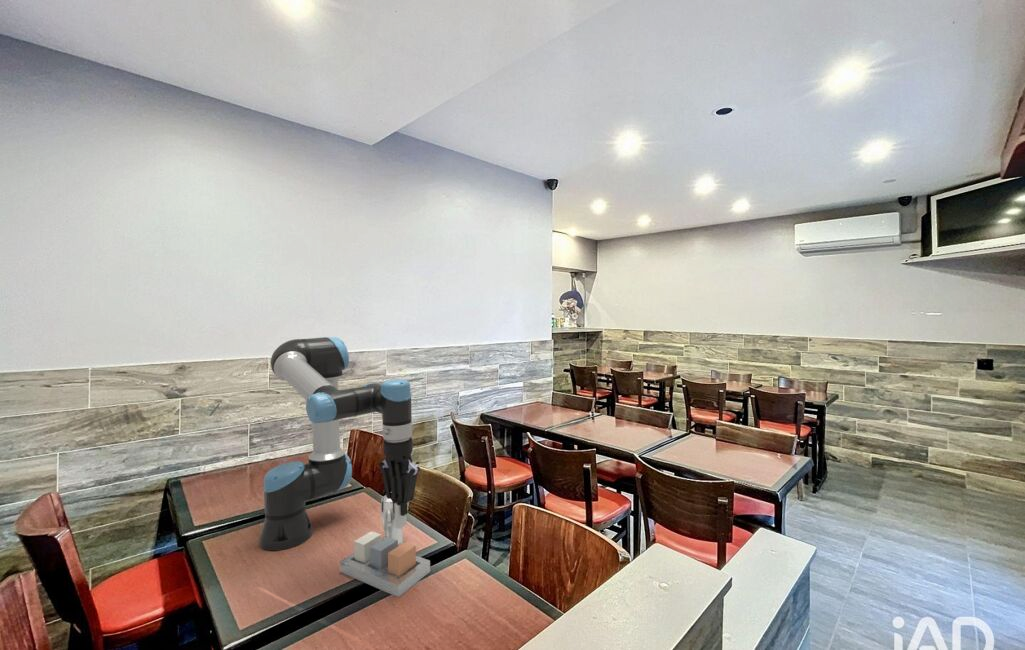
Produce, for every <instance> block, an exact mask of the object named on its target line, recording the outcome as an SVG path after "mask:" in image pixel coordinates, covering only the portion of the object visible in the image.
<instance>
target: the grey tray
mask: <svg viewBox="0 0 1025 650" xmlns="http://www.w3.org/2000/svg"><path fill="white" fill-rule="evenodd" d="M339 565H340V566H339V567H340V568H339V569H340V573H341V574H343V575H346V576H349V577H351V578H352V579H356V580H358V581H360V582H362V583H364V584H367V585H369V586H371V587H374V588H376V589H379V590H381V591H383V592H385V593H388V594H389V595H392V596H394V597H396V598H399V597H401V596H402V595H403V594H404V593H406V592H407V591H408V590H409V589H411V588H412V587H413V586H415V585H416V584H417V583H418V582H419V581H421V579H423V578H424V577H425V576H427V575H428V574H429V573H430V572H431V560H430V559H426V558H424V557H421V556H418V555H416V564H415V565H414V566H412V567H411V568H410V569H408V570H407V571H406V572H404V573H403V574H402V575H400V576H398V575H395V574H393V573H390V572H388V565H387V566H386V567H384V568H383V569H379V568H376V567H374V566H371V559H369V560H368V561H366V562H365V563H364V562H361V561H359V560H356V559H355V556H354V552H353V553H352V554H350V555H348V556H347V557H345V558H343V559H342V560H340V561H339Z"/></svg>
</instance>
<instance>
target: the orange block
mask: <svg viewBox="0 0 1025 650" xmlns="http://www.w3.org/2000/svg"><path fill="white" fill-rule="evenodd" d="M416 550H417V549H416V545H414V544H412V543H409V542H406V541H405V542H404V541H403V543H401V544H400V545H398V547H396V548H395V549H393V550H392V551H390V552H389V553H388V572H390V573H393V574H395V575H398V576H400V575H402V574H403V573H404V572H406V571H407V570H408V569H410V568H411V567H412V566H414V565H415V564H416V556H417V554H416V553H417V551H416Z"/></svg>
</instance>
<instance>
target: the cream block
mask: <svg viewBox="0 0 1025 650" xmlns="http://www.w3.org/2000/svg"><path fill="white" fill-rule="evenodd" d="M381 540H382V534H380V533H378V532H375V531H369V532H368V533H366V534H363V535H362V536H360V537H359V538H357V539H355V540H354V541H353V548H354V549H353V550H354V551H353V553H354V556H355V559H356V560H359V561H361V562H364V563H365V562H366V561H368V560H369V559H371V551H370V547H372V546H373V545H375V544H377V543H378V542H380V541H381Z"/></svg>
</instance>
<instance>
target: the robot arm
mask: <svg viewBox="0 0 1025 650" xmlns="http://www.w3.org/2000/svg"><path fill="white" fill-rule="evenodd" d="M349 356H350V355H349V351H348V348H347V346H346V344H345V342H344V341H343V340H342V339H341V338H339V337H336V336H334V337H333V336H332V337H329V336H327V337H324V336H323V337H315V338H311V337H310V338H295V339H291V340H287V341H285V342H284V343H282V344H281V345H279V346H278V347H277V348H276V349H275V350H274V351H273V353H272V355H271V357H270V361H269V362H270V368H271V370H272V372H273V373H274V375H275V376H276V377H277V378H278V379H280V380H282V381H286V382H287V383H288V384H289V386H291V387H292V389H294V390H295V391H296V392H297V393H298V394H299V396H301V397H302V398H303V399H304V400H305V403H306V404H305V411H306V415H307V417H308V420H309V421H310V422H311V425H312V427H311V428H312V429H311V430H312V452H311V453H310V454H309V455H308V463H306V464H304V463H303V462H302V461H298V460H297V461H295V460H294V461H290V462H289V461H288V462H284V463H282V464H279V465H277V466H275V467H273V468H271V469H269V470H268V472H266V474H265V475H264V477H263V487H262V488H263V497H264V498H263V501H264V517H265V518H264V522H263V526H262V527H261V528H262V529H261V533H260V536H259V546H260V548H261V549H263V550H266V551H283V550H286V549H289V548H290V549H291V548H293V547H296V546H298V545H301V544H302V543H304V542H305V541H307V540H308V539H309V538H310V537H312V534H313V524H312V522H311V519H310V517H309V515H308V513H307V510H306V502H307V501H310V500H313V499H316V498H319V497H323V496H325V495H329V494H332V493H333V494H334V493H337V492H338V491H340V490H343V489H345V488H346V487H348V485H349V484H350V482H351V480H352V476H353V475H352V474H353V464H352V460H351V458H350V457H349V455H348V454H346V453H345V452H346V451H345V450H343V449H342V448H341V445H340V444H341V441H340V440H341V439H340V438H341V437H340V436H341V435H340V420H343V419H347V418H353V417H357V416H363V415H367V414H372V413H373V414H374V413H379V414H381V417H382V439H383V442H382V444H383V445H382V447H383V448H382V449H383V455H384V456H385V457H384V460H382V461H380V462H378V466H379V469H380V471H381V475H382V481H383V485H384V490H385V495H386V496H387V498H388V499H391V500H392V502H393V512H394V514H395V528H398V529H400V528H402V529H403V527H406V525H407V524H408V523H407V521H408V520H407V514H408V511H409V510H408V509H409V508H408V503H409V502H411V501H413V500H414V499H415V498H414V497H415V492H416V491H415V490H416V485H417V478H418V477H417V476H418V474H419V472H420V469H421V468H420V466H419V465H418V466H416V465H415V464H413V459H412V452H413V445H414V443H413V438H412V437H413V424H412V423H413V421H412V417H413V416H412V392H411V383H410V381H408V380H406V379H401V378H400V379H399V378H398V379H389V380H384V381H383V382H382V383H377V382H375V383H371V382H370V383H366V384H364V385H363V386H359V387H352V388H347V389H346V388H345V389H339V380H340V379H341V378H342V377H343V371H345V370H347V368H348V367H349V364H350V363H349V362H350V357H349Z"/></svg>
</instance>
